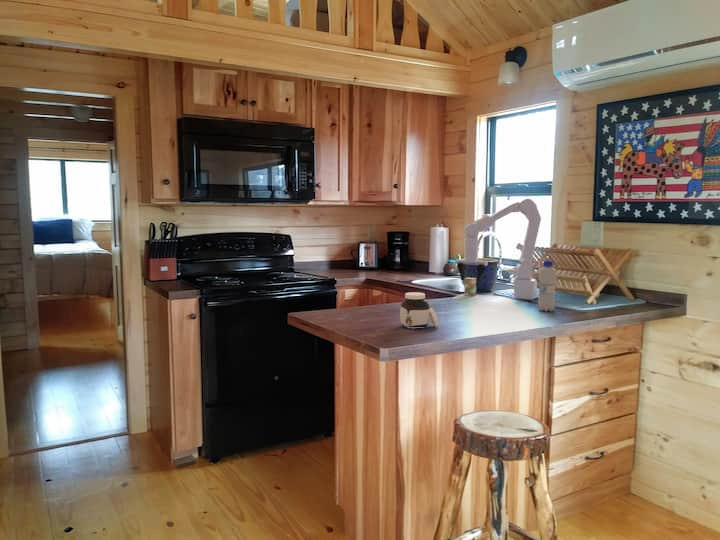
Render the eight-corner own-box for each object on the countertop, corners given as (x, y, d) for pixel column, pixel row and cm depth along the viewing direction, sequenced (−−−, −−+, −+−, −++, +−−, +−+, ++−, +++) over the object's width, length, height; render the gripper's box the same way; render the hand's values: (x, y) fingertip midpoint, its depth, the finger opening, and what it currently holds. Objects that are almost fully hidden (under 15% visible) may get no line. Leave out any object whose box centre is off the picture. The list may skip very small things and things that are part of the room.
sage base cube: (476, 295, 262) (476, 286, 261) (473, 296, 258) (473, 287, 258) (467, 294, 264) (467, 286, 263) (464, 296, 260) (464, 287, 260)
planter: (473, 287, 288) (474, 257, 287) (503, 291, 277) (505, 259, 275) (453, 291, 277) (454, 259, 275) (484, 295, 265) (485, 262, 263)
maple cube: (476, 286, 261) (476, 278, 261) (472, 288, 258) (473, 279, 257) (467, 286, 263) (467, 277, 263) (464, 287, 260) (464, 278, 259)
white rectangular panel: (506, 298, 258) (506, 296, 258) (495, 303, 244) (495, 302, 244) (463, 294, 268) (463, 293, 268) (450, 299, 254) (450, 298, 254)
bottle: (546, 312, 225) (548, 261, 223) (533, 309, 231) (535, 260, 228) (558, 311, 228) (561, 260, 226) (546, 308, 234) (548, 259, 232)
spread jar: (396, 325, 201) (397, 292, 200) (421, 322, 208) (421, 289, 206) (419, 332, 191) (419, 297, 190) (444, 328, 198) (445, 294, 197)
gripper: (452, 250, 259) (452, 280, 260) (484, 251, 251) (483, 282, 253) (458, 249, 265) (458, 278, 266) (489, 250, 257) (488, 281, 259)
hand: (470, 280), depth 260 cm, fingers open, 7 cm apart
